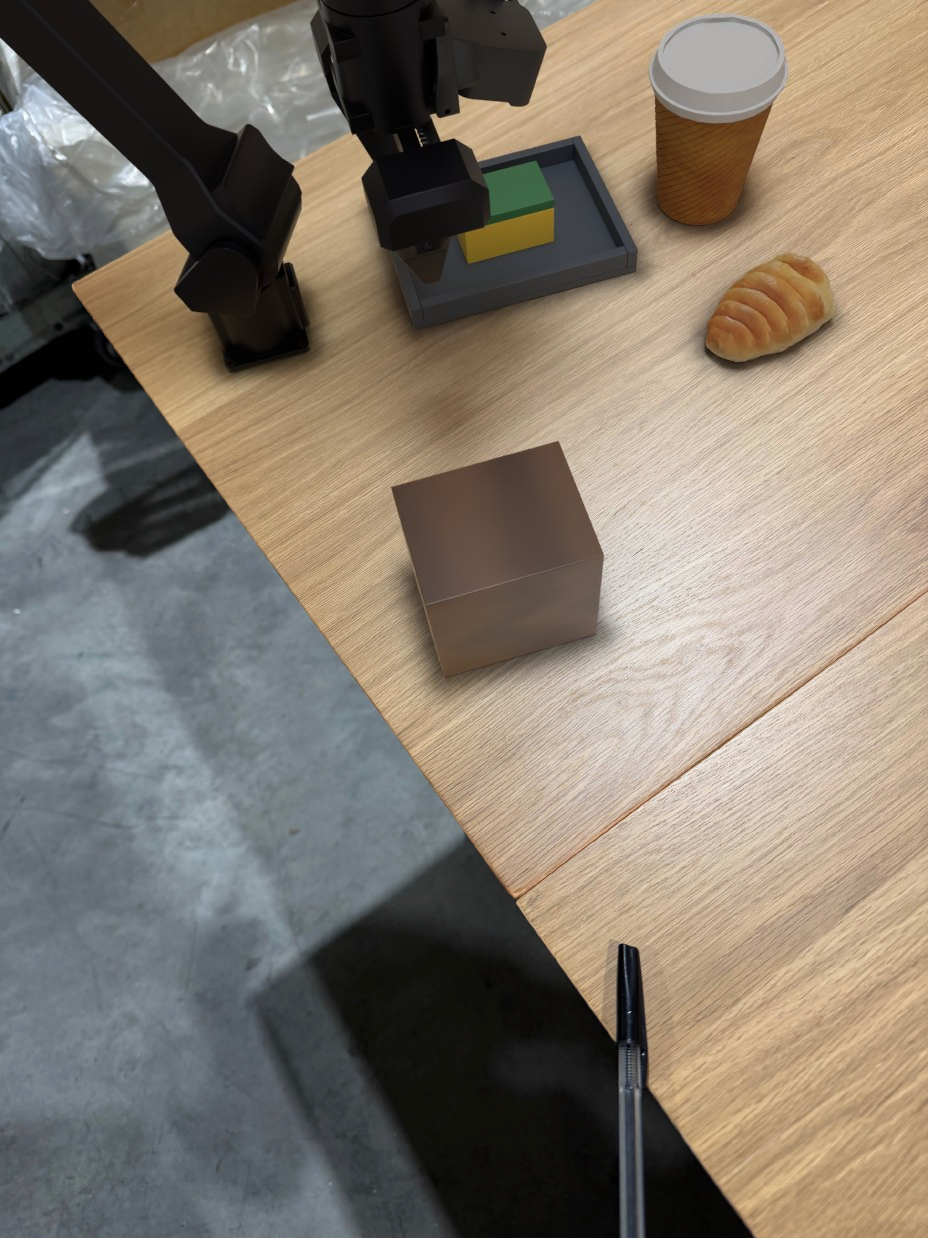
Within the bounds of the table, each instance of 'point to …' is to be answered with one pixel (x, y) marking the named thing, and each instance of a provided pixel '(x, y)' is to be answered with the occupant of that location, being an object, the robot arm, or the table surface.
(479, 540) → the cube
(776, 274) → the pastry
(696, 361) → the table surface
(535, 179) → the sponge
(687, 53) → the disposable coffee cup
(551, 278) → the tray
